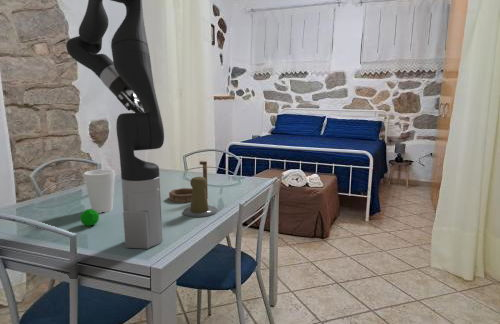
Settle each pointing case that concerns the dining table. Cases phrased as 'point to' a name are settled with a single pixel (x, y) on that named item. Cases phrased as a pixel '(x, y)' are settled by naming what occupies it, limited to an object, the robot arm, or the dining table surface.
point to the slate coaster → (210, 212)
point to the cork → (198, 195)
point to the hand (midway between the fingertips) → (151, 117)
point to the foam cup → (100, 189)
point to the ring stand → (187, 189)
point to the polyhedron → (89, 217)
